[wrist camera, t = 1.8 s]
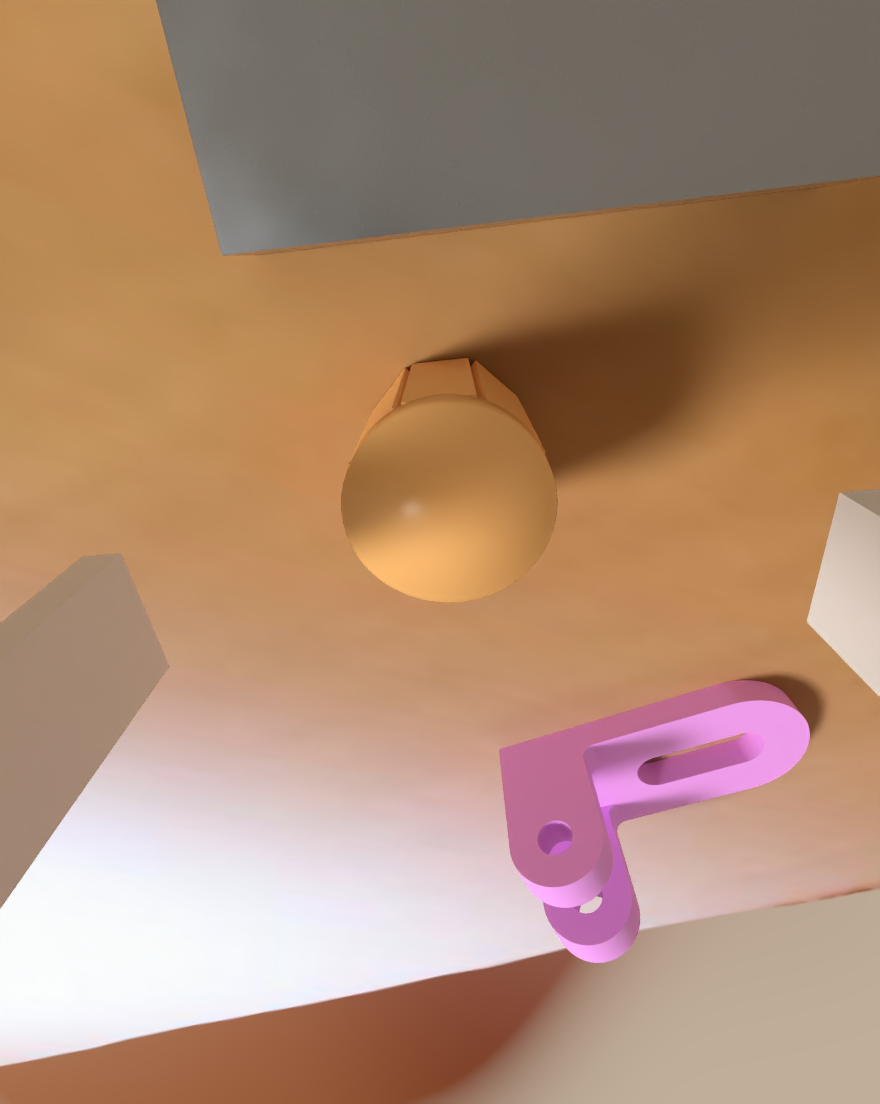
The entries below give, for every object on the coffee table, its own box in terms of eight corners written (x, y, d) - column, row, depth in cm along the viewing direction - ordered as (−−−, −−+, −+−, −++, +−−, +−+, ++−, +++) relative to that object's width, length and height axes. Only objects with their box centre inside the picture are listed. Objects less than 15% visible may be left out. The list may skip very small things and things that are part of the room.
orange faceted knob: (383, 513, 20) (361, 610, 15) (358, 366, 18) (320, 416, 12) (526, 500, 20) (557, 593, 14) (521, 348, 17) (556, 391, 12)
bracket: (536, 817, 28) (562, 971, 22) (498, 746, 26) (515, 897, 20) (798, 747, 26) (908, 899, 20) (783, 661, 24) (902, 805, 17)
